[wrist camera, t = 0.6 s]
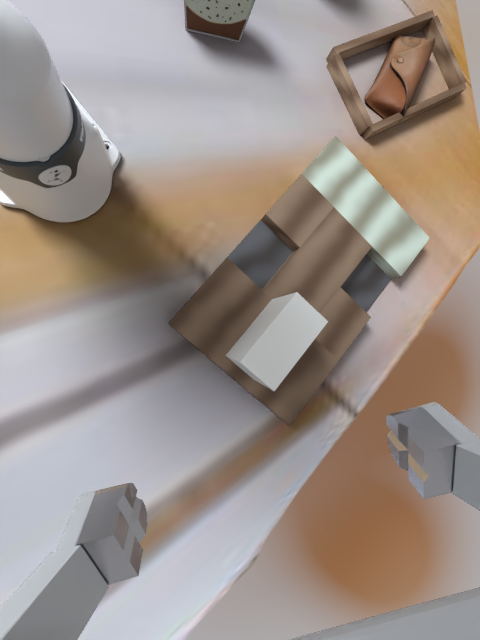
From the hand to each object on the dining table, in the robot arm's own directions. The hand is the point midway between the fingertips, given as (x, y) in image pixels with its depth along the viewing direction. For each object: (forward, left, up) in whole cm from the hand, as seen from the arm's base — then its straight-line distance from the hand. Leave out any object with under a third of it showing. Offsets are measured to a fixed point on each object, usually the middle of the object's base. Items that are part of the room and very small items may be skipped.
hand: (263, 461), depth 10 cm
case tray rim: (-27, +62, -41) cm, 79 cm away
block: (+4, +12, -38) cm, 40 cm away
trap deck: (-1, +25, -41) cm, 48 cm away
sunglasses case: (-27, +62, -42) cm, 80 cm away
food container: (-48, +32, -42) cm, 71 cm away
